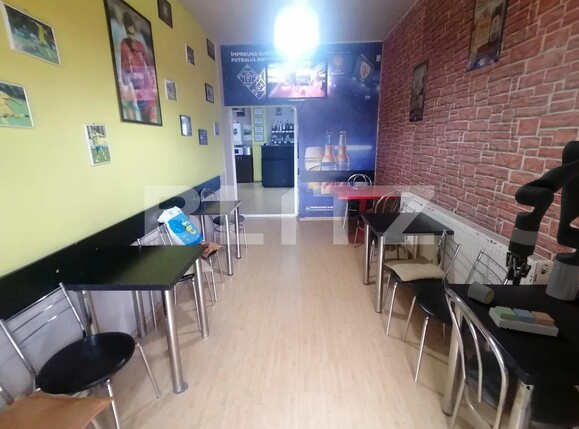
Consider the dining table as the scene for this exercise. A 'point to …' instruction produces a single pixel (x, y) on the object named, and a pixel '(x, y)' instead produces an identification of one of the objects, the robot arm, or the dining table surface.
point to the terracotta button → (542, 318)
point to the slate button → (524, 315)
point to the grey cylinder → (480, 292)
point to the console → (523, 325)
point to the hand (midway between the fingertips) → (512, 282)
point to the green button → (505, 313)
